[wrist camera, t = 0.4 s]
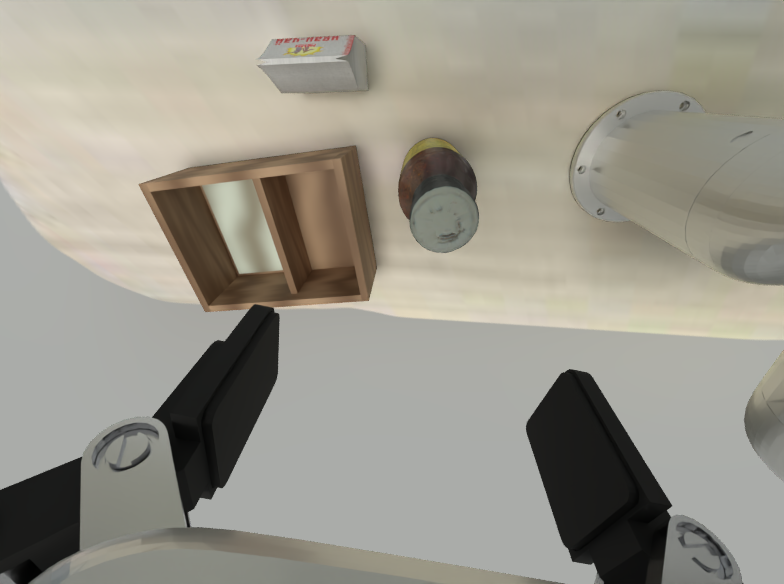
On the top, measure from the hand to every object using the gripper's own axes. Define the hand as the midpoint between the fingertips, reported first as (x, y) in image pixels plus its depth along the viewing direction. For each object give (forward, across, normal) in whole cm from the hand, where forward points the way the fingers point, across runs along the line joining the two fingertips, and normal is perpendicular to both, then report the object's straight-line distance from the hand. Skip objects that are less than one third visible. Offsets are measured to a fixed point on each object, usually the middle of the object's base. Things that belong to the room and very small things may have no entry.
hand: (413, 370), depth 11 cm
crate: (+30, +14, +9) cm, 35 cm away
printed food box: (+31, +10, -8) cm, 33 cm away
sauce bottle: (+30, -2, -1) cm, 30 cm away
